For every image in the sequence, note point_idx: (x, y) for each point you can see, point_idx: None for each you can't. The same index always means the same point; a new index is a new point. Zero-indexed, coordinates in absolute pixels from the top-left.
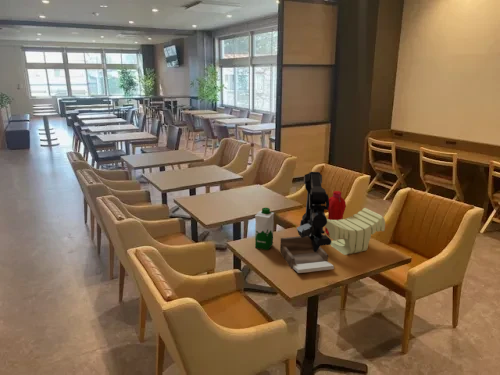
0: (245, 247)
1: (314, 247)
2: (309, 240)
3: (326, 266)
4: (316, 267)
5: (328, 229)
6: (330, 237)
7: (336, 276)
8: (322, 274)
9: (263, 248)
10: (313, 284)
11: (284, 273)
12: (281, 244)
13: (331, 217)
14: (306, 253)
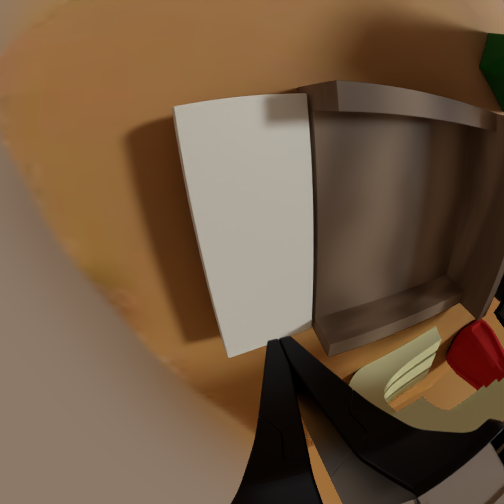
0: (486, 5)
1: (261, 400)
2: (475, 281)
3: (221, 326)
4: (209, 266)
5: (453, 417)
6: (417, 401)
7: (176, 334)
8: (197, 276)
9: (486, 53)
10: (74, 203)
11: (232, 25)
12: (498, 114)
13: (498, 369)
14: (418, 235)
